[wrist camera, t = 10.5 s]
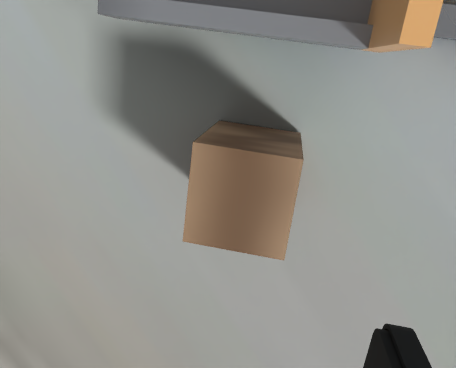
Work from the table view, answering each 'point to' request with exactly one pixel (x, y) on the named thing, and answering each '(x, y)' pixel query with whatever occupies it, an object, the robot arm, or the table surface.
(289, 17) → the grey and tan frame
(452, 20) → the rail track
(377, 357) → the robot arm
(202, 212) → the walnut block
